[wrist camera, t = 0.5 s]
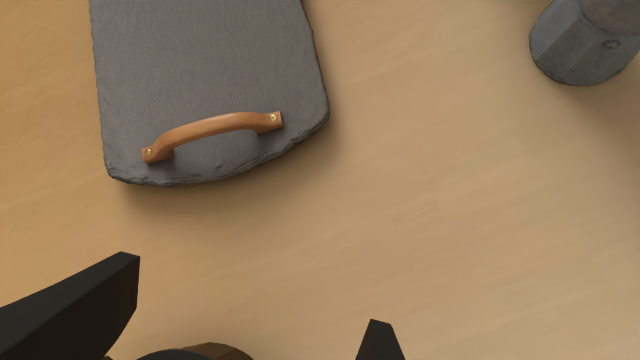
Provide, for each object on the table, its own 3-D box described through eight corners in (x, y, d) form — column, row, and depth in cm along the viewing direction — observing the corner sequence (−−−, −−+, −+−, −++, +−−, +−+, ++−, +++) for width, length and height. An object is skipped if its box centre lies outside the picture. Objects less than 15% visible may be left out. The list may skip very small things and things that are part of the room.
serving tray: (93, -84, 52) (55, -131, 46) (269, -141, 50) (254, -198, 44) (124, 213, 42) (81, 202, 36) (345, 154, 40) (339, 133, 34)
